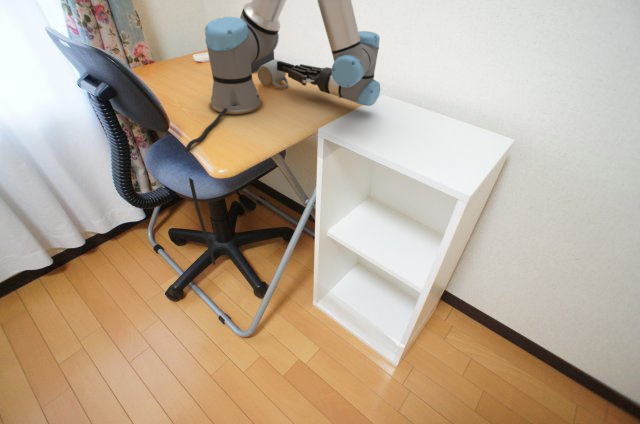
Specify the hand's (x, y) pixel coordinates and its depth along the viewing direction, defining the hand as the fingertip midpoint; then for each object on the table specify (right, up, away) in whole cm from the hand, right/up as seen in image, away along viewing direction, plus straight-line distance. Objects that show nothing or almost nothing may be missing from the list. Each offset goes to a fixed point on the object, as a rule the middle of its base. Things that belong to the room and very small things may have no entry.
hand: (278, 65), depth 109 cm
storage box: (-14, +10, +21) cm, 27 cm away
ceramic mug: (-2, -5, +6) cm, 8 cm away
